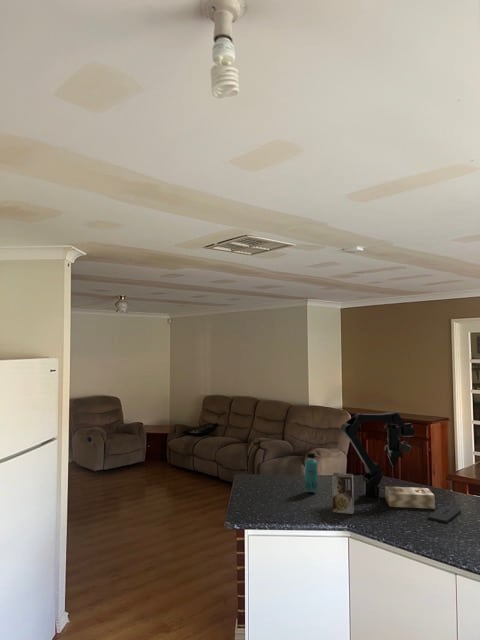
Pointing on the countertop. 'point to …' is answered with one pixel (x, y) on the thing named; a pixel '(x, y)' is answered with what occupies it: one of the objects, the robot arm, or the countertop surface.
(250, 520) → the countertop surface
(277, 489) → the countertop surface
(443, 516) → the smart home device
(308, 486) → the beverage bottle
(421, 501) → the birch block
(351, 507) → the coffee box
